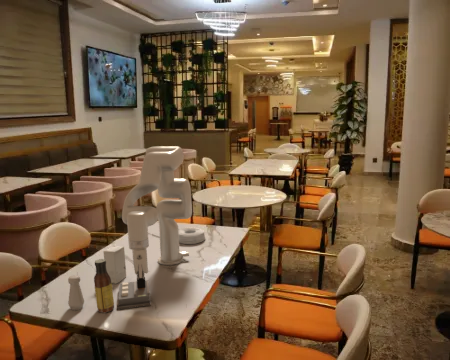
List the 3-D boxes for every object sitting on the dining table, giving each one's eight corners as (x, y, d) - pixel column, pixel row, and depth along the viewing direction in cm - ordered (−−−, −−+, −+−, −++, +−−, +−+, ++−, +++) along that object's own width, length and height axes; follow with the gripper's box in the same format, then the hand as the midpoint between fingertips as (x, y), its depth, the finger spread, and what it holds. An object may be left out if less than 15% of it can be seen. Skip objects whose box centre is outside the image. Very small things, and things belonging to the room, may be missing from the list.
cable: (171, 238, 235) (171, 228, 234) (198, 234, 242) (198, 224, 241) (180, 247, 219) (180, 236, 218) (209, 242, 227) (209, 232, 225)
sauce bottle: (115, 305, 154) (112, 257, 151) (112, 313, 148) (108, 263, 144) (99, 305, 154) (95, 257, 150) (94, 313, 148) (90, 264, 144)
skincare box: (116, 284, 173) (114, 252, 170) (105, 282, 175) (102, 250, 172) (127, 276, 181) (124, 245, 178) (115, 275, 183) (113, 244, 180)
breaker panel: (148, 286, 170) (148, 277, 169) (150, 302, 155) (149, 292, 155) (120, 290, 167) (119, 280, 166) (118, 306, 153) (118, 296, 152)
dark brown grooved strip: (150, 303, 155) (150, 300, 155) (150, 305, 153) (150, 303, 153) (117, 307, 152) (117, 304, 152) (117, 310, 150) (117, 307, 150)
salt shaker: (71, 304, 155) (68, 273, 153) (86, 303, 156) (83, 272, 153) (66, 312, 149) (63, 280, 147) (82, 311, 150) (79, 279, 148)
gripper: (149, 248, 145) (152, 294, 148) (147, 236, 159) (150, 278, 162) (128, 250, 143) (131, 297, 146) (128, 238, 157) (131, 280, 161)
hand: (141, 287), depth 154 cm, fingers closed
